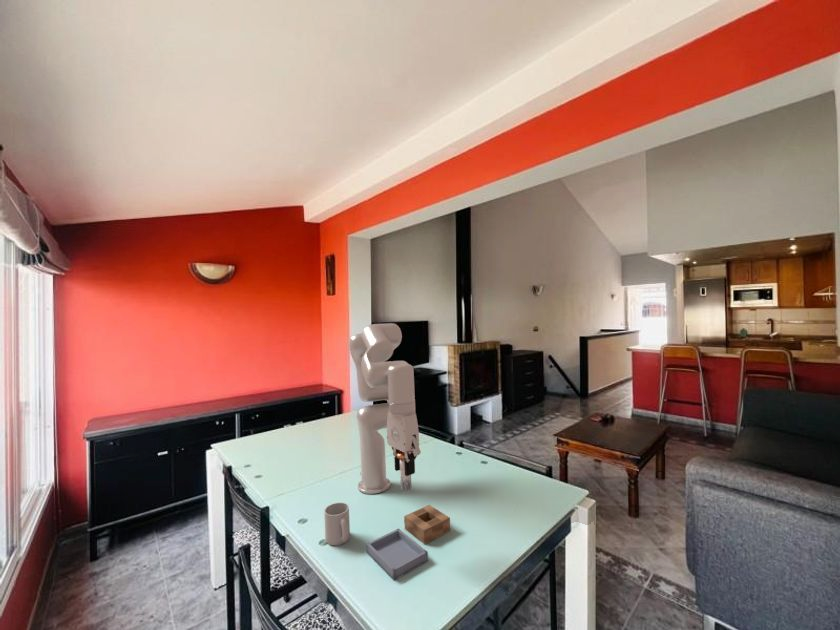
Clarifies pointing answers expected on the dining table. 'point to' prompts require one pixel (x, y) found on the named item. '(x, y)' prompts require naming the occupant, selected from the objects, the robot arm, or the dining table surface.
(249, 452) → the dining table surface
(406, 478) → the pin
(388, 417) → the robot arm
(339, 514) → the cup
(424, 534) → the hitch block
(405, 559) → the tray
